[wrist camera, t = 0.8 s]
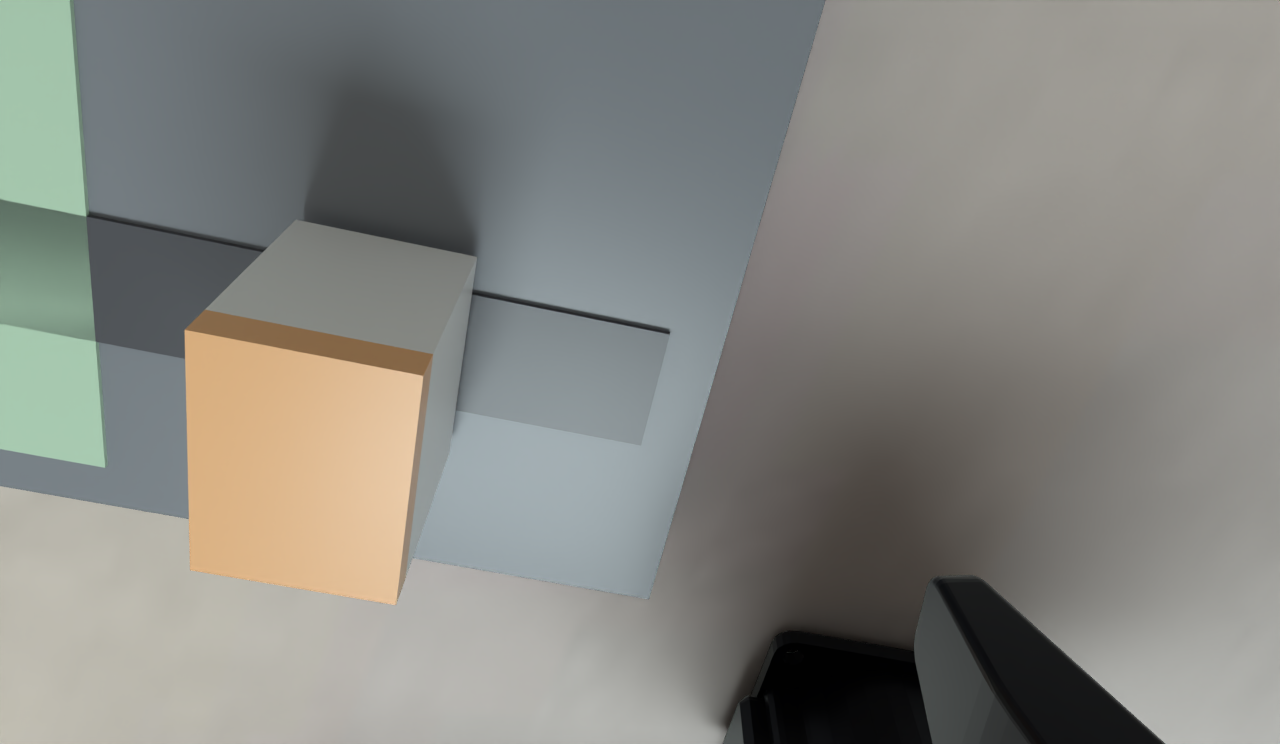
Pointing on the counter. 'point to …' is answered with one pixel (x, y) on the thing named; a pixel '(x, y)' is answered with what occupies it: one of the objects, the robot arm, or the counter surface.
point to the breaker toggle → (324, 410)
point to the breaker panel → (397, 233)
